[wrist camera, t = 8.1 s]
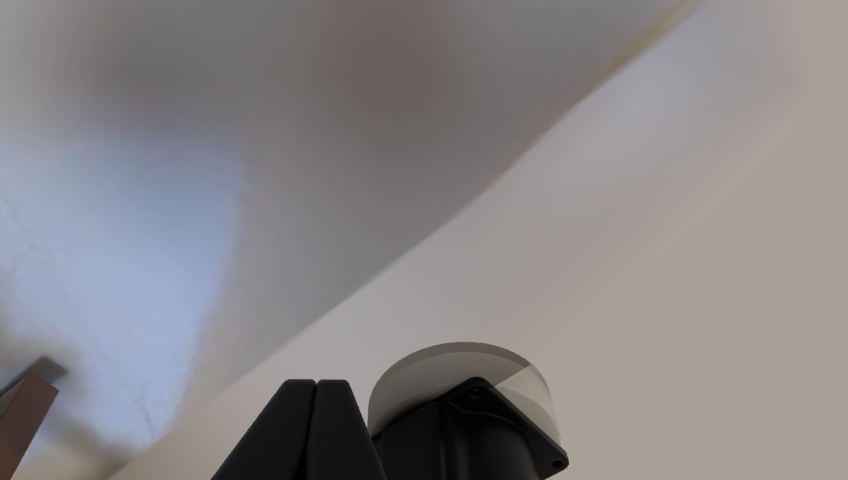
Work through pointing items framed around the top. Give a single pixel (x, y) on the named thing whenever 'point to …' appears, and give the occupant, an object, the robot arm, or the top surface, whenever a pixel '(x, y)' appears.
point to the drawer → (22, 419)
